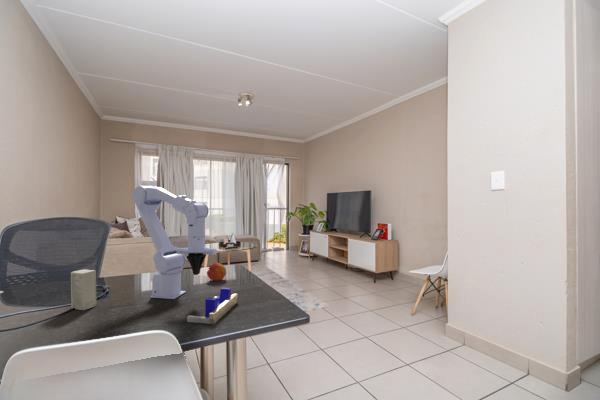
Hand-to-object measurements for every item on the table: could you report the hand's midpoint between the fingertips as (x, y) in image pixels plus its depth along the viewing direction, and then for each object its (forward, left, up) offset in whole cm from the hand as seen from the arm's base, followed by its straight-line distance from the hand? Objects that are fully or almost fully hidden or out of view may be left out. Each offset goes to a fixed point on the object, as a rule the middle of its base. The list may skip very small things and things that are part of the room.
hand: (196, 274), depth 100 cm
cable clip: (+11, -8, -10) cm, 17 cm away
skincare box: (-33, -13, -10) cm, 37 cm away
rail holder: (+11, -8, -9) cm, 16 cm away
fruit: (-4, +25, -10) cm, 27 cm away
